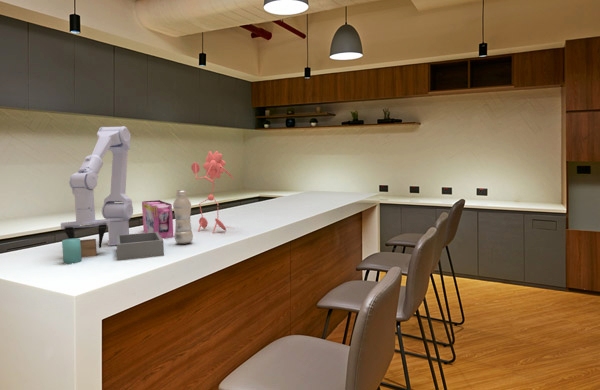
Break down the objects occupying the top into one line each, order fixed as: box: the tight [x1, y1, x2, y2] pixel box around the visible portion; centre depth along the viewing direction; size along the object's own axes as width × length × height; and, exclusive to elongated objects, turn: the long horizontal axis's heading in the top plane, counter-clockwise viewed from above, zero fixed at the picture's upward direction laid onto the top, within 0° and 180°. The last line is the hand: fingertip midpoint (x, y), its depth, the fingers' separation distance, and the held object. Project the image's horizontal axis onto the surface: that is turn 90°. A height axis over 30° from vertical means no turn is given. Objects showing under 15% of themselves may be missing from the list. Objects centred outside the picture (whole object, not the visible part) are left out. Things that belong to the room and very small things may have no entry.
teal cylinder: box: [61, 237, 83, 265], centre depth 130 cm, size 5×5×7 cm
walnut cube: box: [80, 238, 97, 258], centre depth 139 cm, size 5×5×5 cm
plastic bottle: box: [172, 189, 194, 245], centre depth 154 cm, size 6×7×20 cm
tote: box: [116, 232, 165, 261], centre depth 142 cm, size 18×14×5 cm
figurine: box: [190, 150, 235, 235], centre depth 182 cm, size 15×26×35 cm, turn 55°
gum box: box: [141, 199, 174, 239], centre depth 175 cm, size 24×8×14 cm, turn 32°
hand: (87, 248), depth 139 cm, fingers open, 7 cm apart
